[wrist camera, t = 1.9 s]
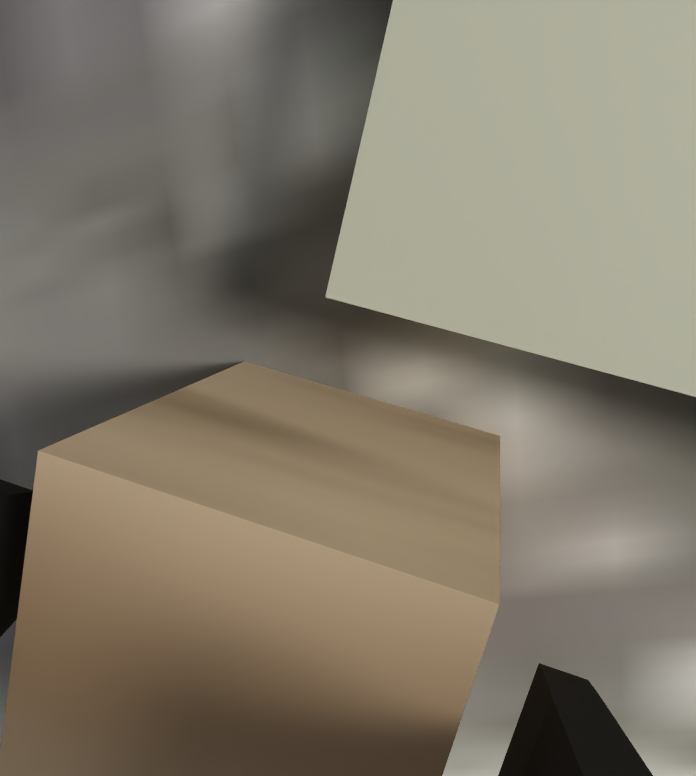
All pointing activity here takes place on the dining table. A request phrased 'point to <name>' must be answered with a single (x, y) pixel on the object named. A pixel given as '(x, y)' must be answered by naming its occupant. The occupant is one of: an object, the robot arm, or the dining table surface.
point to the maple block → (254, 587)
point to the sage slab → (534, 181)
